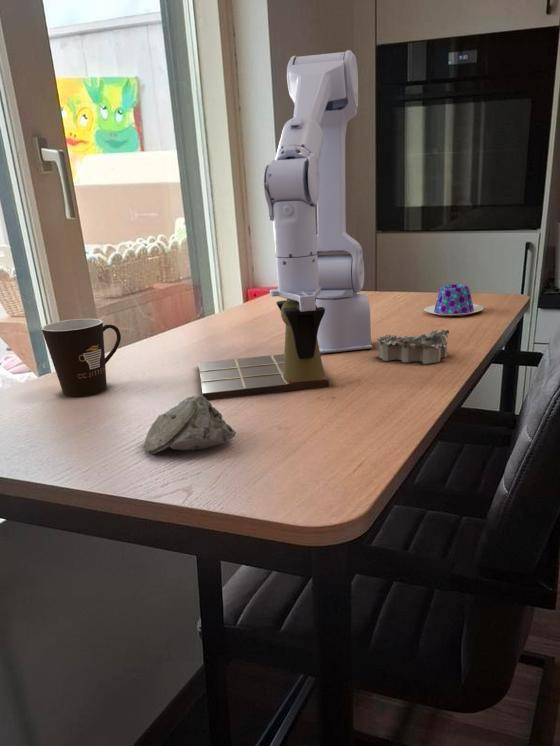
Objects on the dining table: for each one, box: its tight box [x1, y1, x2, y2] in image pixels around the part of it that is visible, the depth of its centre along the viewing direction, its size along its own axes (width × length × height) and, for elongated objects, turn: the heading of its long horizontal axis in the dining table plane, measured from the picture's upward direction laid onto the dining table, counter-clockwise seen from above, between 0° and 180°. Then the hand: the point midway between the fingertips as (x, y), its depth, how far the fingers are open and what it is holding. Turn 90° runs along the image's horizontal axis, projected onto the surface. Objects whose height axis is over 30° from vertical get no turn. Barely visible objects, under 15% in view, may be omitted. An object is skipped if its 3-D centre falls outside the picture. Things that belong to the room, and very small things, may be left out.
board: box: [198, 353, 330, 401], centre depth 107 cm, size 18×18×1 cm
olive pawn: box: [280, 300, 325, 382], centre depth 100 cm, size 6×6×11 cm
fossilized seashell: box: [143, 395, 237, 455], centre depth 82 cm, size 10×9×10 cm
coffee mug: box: [40, 318, 122, 398], centre depth 105 cm, size 12×9×10 cm
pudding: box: [424, 283, 485, 317], centre depth 143 cm, size 12×12×5 cm
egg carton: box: [376, 329, 450, 365], centre depth 112 cm, size 11×8×4 cm
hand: (302, 353), depth 101 cm, fingers closed on olive pawn, 5 cm apart
